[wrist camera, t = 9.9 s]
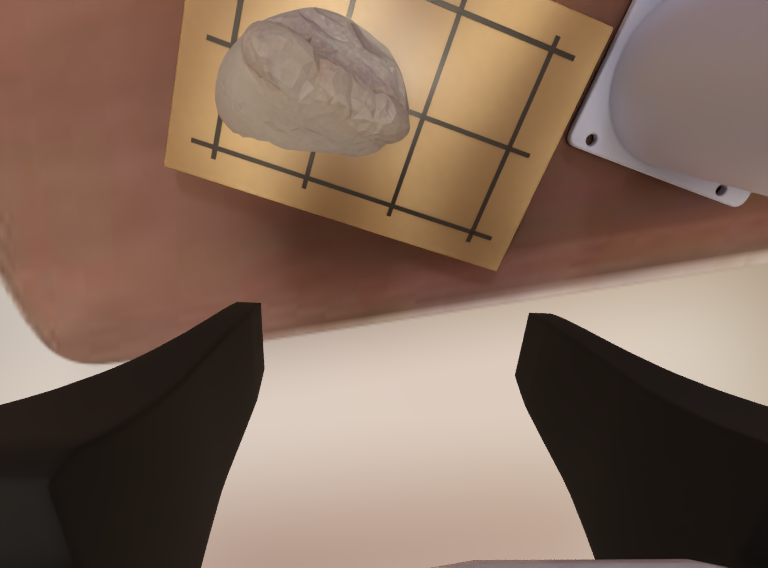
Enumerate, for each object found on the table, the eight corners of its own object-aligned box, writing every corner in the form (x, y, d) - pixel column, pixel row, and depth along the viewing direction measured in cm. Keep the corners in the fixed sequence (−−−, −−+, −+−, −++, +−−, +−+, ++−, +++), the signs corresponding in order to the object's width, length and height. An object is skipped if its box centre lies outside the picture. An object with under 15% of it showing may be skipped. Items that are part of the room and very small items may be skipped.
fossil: (257, 124, 18) (139, 160, 9) (251, 28, 16) (102, -50, 7) (396, 132, 18) (421, 174, 9) (401, 38, 17) (439, -25, 8)
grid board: (602, 30, 18) (615, 27, 17) (491, 264, 22) (497, 272, 21) (213, -139, 15) (202, -154, 14) (172, 162, 19) (162, 166, 18)
